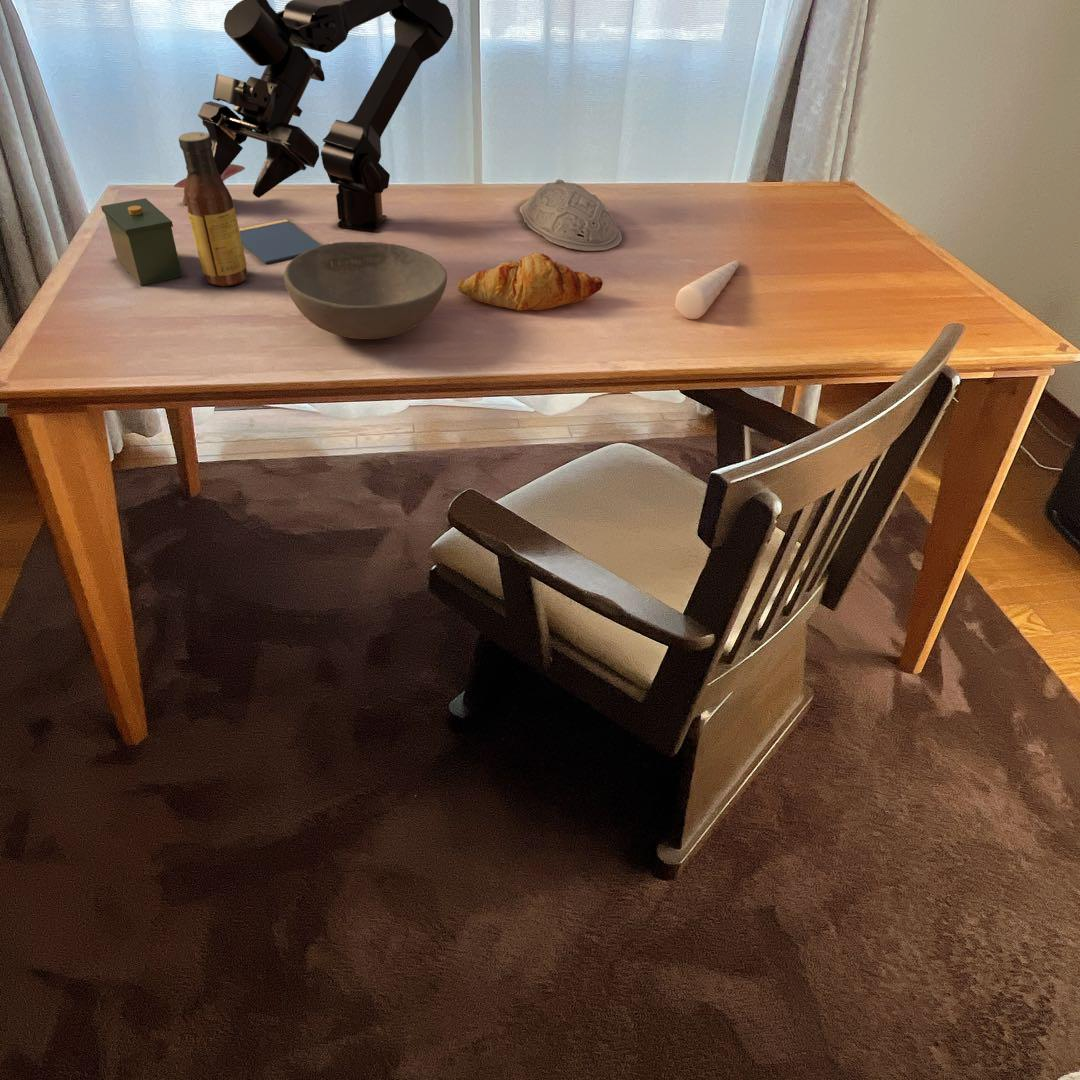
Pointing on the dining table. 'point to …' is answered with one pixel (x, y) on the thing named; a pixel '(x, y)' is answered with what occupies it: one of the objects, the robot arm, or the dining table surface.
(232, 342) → the dining table surface
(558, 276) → the croissant
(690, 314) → the unicorn horn
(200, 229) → the sauce bottle
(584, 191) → the grey domed shell
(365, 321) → the bowl
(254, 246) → the blue book
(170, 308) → the dining table surface
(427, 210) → the dining table surface
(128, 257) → the tin box
